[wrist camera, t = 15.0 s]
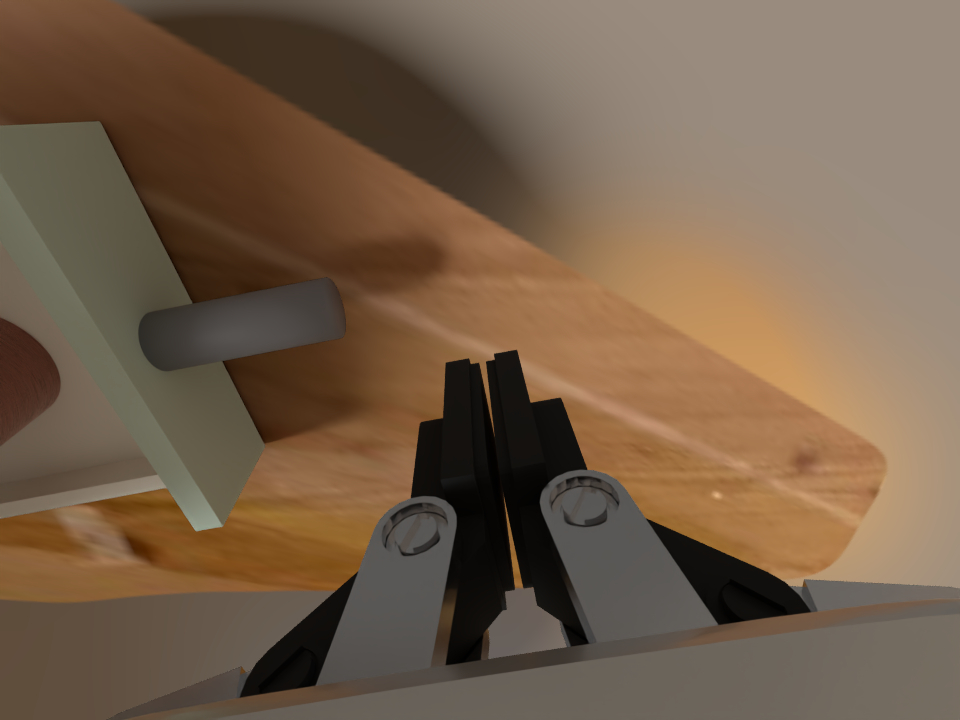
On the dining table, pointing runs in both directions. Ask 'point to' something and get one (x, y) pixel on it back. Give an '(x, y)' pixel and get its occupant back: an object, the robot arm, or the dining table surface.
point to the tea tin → (24, 380)
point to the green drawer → (127, 338)
